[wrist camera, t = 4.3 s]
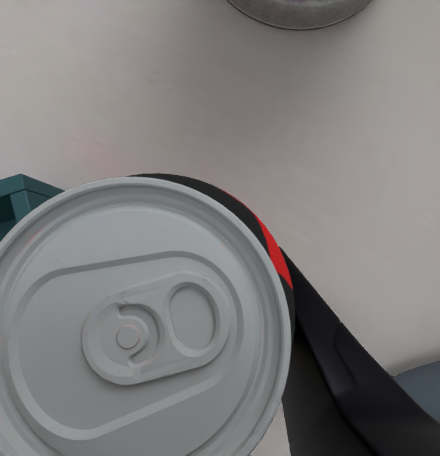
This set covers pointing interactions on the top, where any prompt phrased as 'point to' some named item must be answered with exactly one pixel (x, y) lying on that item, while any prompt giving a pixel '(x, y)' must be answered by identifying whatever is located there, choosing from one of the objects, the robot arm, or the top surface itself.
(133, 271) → the beverage can
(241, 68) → the top surface
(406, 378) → the paintbrush
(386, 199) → the top surface
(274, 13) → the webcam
